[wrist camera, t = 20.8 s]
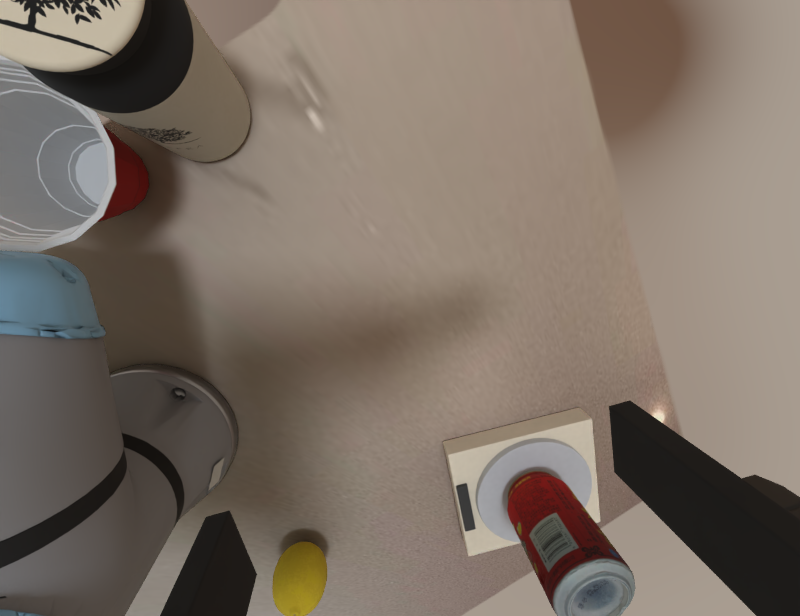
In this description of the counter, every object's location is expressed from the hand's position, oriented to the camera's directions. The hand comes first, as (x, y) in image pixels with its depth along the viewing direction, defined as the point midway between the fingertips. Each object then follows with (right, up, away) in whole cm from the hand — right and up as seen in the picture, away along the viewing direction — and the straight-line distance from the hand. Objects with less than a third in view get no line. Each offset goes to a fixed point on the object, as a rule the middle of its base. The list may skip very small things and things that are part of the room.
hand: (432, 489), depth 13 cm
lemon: (-12, -21, +32) cm, 40 cm away
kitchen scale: (+13, -14, +32) cm, 37 cm away
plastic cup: (-25, +17, +20) cm, 37 cm away
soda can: (+13, -14, +29) cm, 35 cm away
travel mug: (-18, +22, +19) cm, 34 cm away
